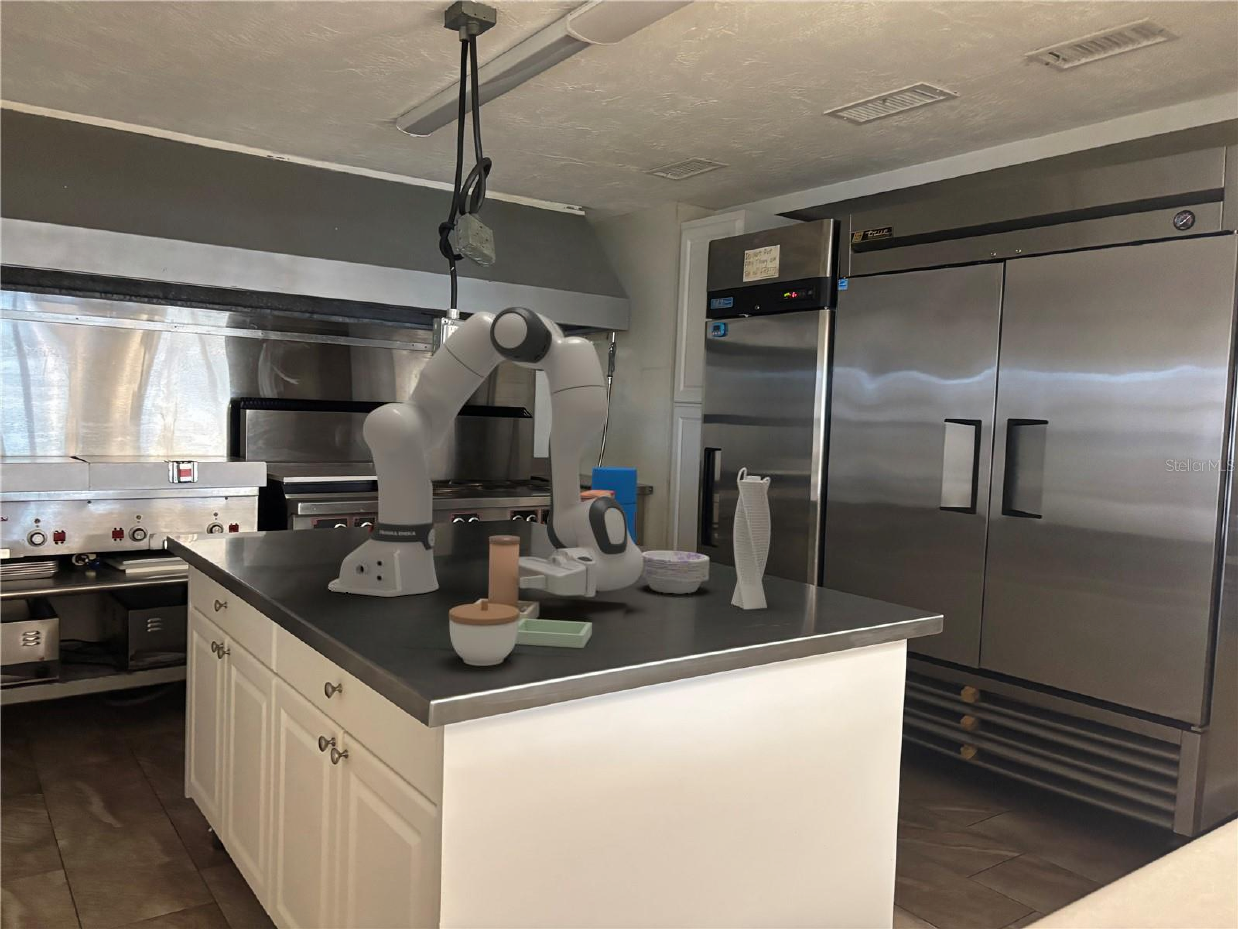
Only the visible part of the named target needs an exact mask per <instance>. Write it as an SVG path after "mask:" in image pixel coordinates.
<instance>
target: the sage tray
mask: <svg viewBox="0 0 1238 929" xmlns="http://www.w3.org/2000/svg"><path fill="white" fill-rule="evenodd" d="M592 628H593V622H588V621H585V622H584V621H571V620H570V621H569V620H553V619H552V620H551V619H537V618H536V619H521V620H520V621H519V627H518V635H517V639H516V643H515V645H525V646H539V647H541V646H542V647H557V648H571V649H573V648H574V649H584V648H585V646H586V644H587V643H588V641H589V639H590V638H591V636H592V633H593V629H592Z"/></svg>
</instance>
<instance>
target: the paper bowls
mask: <svg viewBox="0 0 1238 929" xmlns="http://www.w3.org/2000/svg"><path fill="white" fill-rule="evenodd" d="M641 553H642V556H643V569H642V573H641V575H640V577H643V578H645V579H646V581H647V583H648V586H649V588H650V589H651V590H652V591H655V592H657V593H661V592H663V593H662V594H667V593H674V594H673V595H686V594H685V593H688V594H692V592H693V593H695V592H697V590H698V588H699V587H700V585H701V583H702V582H706V581H708V580H709V578H710V577H709V575H710V557H709V556H707V555H705V554H702V553H697V552H690V551H681V550H649V551H644V552H641Z"/></svg>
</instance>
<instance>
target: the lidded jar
mask: <svg viewBox="0 0 1238 929" xmlns="http://www.w3.org/2000/svg"><path fill="white" fill-rule="evenodd" d="M483 599H484V600H481V603H478V604H474V603H468V604H462V605H458V606H455V607H452V608H451V609H449V610H448V611H449V612H448V619H449V635H450V641H451V645H452V647H453V649H454V650H455V652H456V654H458V656H459V657H460V658H462V659H463V663H465V664H467V665H471V666H478V667H485V666H486V667H487V666H488V667H489V666H495V665H499V664H501V663H503V662H504V659H505V658H506V657H508V656H509V654H511V652H512V651H513V649H514V647H515V646H516V644H515V643H516V639H517V635H518V627H519V617H520V611H519V610H518V609H517V608H515V607H512V606H508V605H503V604H492V603H488V600H486V599H487V598H483Z"/></svg>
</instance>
